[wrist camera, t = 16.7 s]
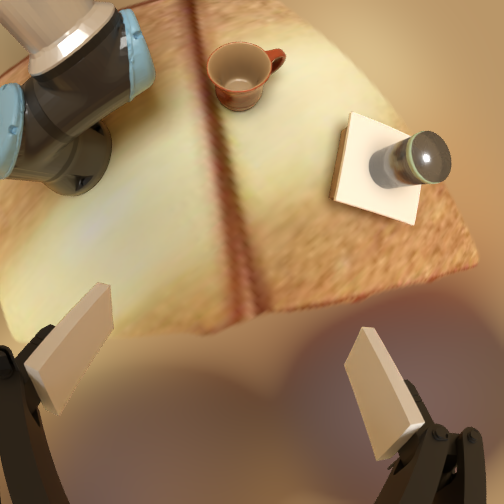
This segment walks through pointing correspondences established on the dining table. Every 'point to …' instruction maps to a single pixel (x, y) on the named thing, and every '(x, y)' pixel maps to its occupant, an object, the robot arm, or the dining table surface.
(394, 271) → the dining table surface
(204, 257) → the dining table surface
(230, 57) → the mug
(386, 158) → the grey can
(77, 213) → the dining table surface
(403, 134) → the pedestal
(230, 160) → the dining table surface
